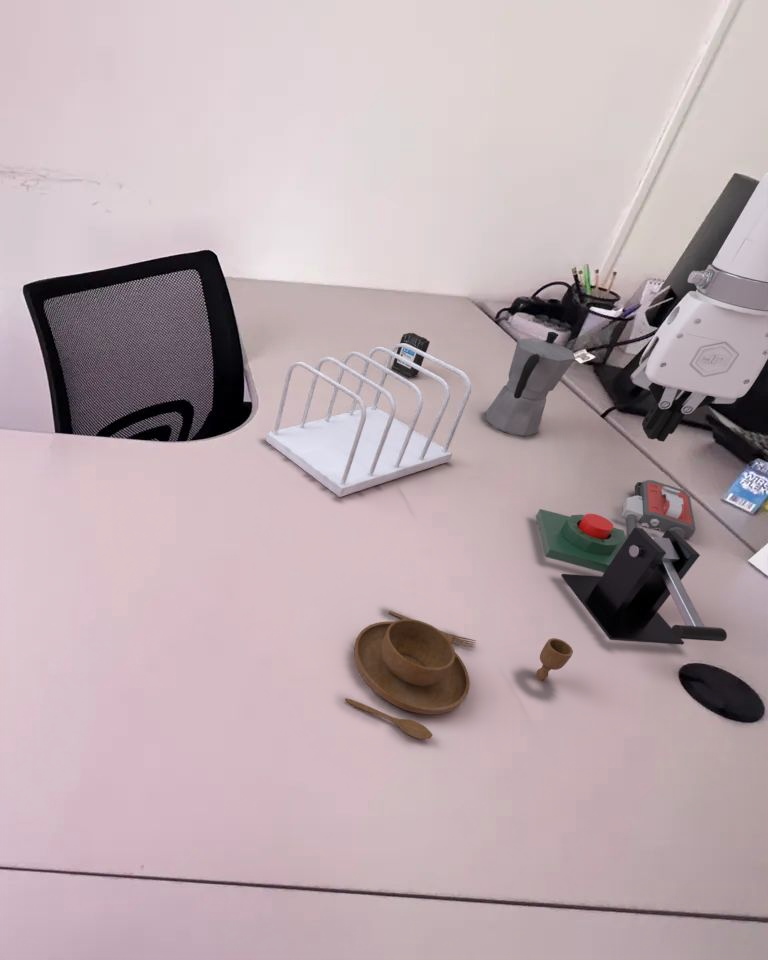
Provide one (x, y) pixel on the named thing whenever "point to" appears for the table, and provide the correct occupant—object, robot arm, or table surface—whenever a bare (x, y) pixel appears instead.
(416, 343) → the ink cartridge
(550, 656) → the place setting
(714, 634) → the lever
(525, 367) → the coffeepot
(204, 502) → the table surface
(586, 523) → the button
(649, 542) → the bracket
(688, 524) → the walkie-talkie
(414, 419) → the file sorter
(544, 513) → the control box
